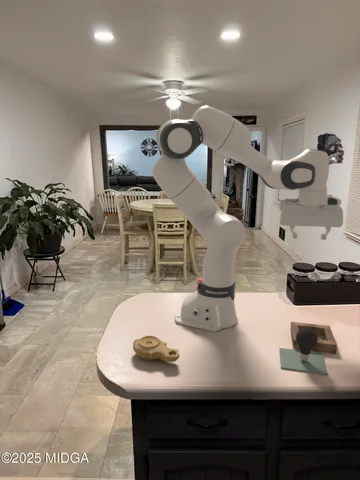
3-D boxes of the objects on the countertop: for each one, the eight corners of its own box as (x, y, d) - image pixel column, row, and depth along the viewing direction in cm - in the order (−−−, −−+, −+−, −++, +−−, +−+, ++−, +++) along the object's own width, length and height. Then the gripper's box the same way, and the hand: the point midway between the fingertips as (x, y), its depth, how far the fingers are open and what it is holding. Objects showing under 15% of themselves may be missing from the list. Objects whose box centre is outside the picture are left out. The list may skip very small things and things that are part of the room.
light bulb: (289, 354, 95) (293, 324, 92) (307, 353, 95) (312, 323, 92) (298, 367, 89) (303, 335, 86) (317, 365, 90) (323, 334, 87)
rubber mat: (280, 368, 90) (280, 367, 89) (279, 348, 99) (279, 347, 99) (328, 375, 87) (328, 373, 86) (322, 354, 96) (322, 353, 96)
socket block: (293, 348, 99) (293, 339, 98) (290, 329, 110) (290, 321, 110) (336, 354, 96) (337, 345, 95) (328, 334, 107) (329, 325, 107)
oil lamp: (178, 369, 90) (178, 353, 88) (127, 367, 91) (126, 351, 90) (181, 348, 100) (181, 333, 99) (135, 346, 101) (135, 332, 100)
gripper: (280, 199, 110) (278, 239, 113) (346, 200, 105) (342, 242, 108) (279, 197, 116) (277, 235, 119) (342, 198, 111) (338, 238, 114)
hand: (308, 238), depth 114 cm, fingers open, 8 cm apart
